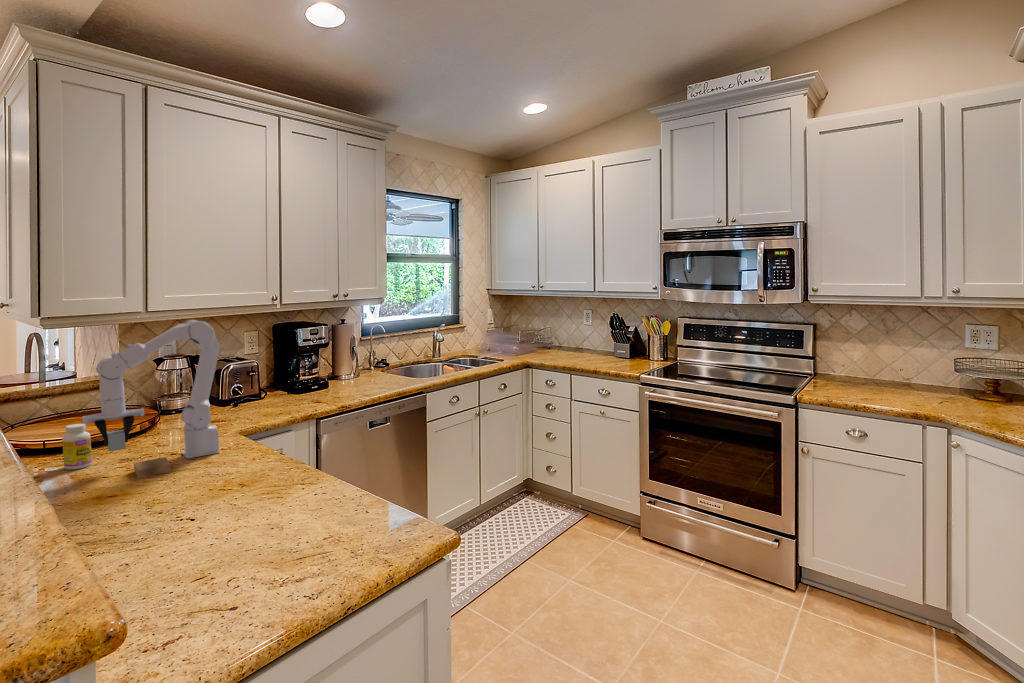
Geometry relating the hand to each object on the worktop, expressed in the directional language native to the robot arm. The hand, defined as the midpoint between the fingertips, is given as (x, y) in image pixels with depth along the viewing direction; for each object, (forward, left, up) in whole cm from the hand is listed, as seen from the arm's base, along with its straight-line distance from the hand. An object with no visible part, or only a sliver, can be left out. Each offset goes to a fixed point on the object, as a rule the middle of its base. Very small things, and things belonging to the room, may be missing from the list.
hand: (116, 443), depth 156 cm
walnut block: (-7, +8, -9) cm, 14 cm away
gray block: (0, 0, -2) cm, 2 cm away
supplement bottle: (+9, -12, -9) cm, 17 cm away
